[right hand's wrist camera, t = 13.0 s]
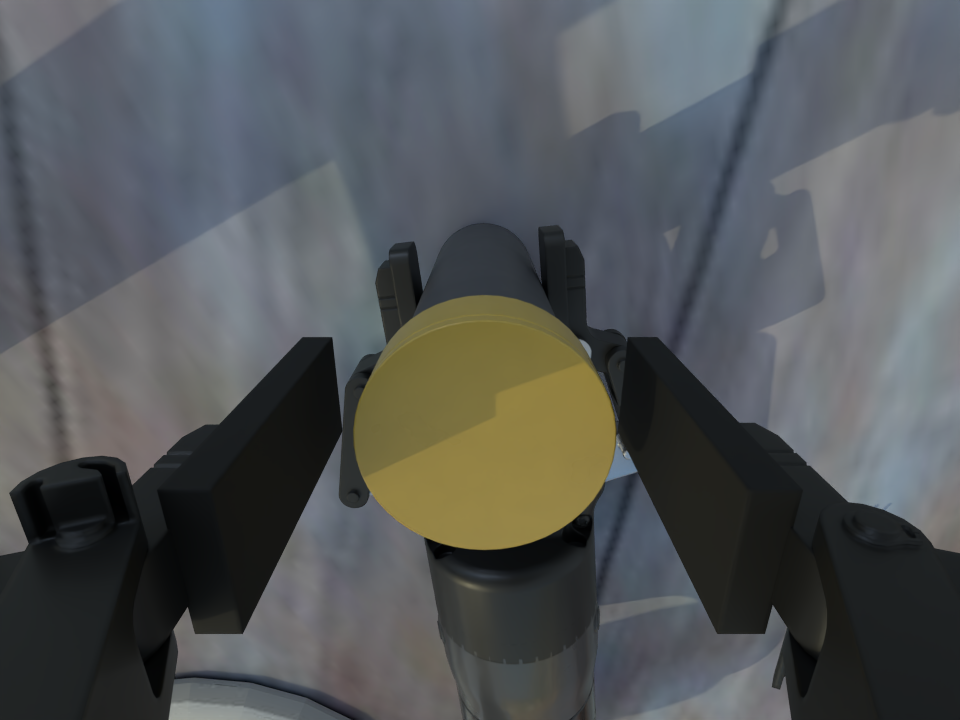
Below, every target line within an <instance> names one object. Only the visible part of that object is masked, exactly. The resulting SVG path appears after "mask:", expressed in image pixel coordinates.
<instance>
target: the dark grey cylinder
mask: <svg viewBox="0 0 960 720" xmlns="http://www.w3.org/2000/svg"><path fill="white" fill-rule="evenodd" d="M478 295H492V296H503V297H508V298H513V299H518V300H521V301H524V302H527V303H530V304H532V305H534V306H537V307H539V308H541V309H543V310H545V311H547V312H548V313H550V314H551V315H553V316H554V317H555V315H554V313H553V310H552V308H551V306H550V303H549V301H548V299H547V296H546V294H545V292H544V289H543V287H542V285H541V282H540V280H539V278H538V275H537V273H536V271H535V268H534V266H533V264H532V261H531V259H530V257H529V255H528V252H527V250H526V248H525V246H524V245H523V243H522V242H521V241H520V240H519V239H518V238H517V237H516V236H515V235H514V234H513V233H512V232H510V231H509V230H507V229H505V228H503V227H500V226H497V225H493V224H484V223H483V224H474V225H470V226H467V227H464V228H462V229H461V230H459V231H457V232H456V233H454V234H453V235H452V236H451V237H450V238H449V239H448V240H447V241H446V242H445V244H444V245H443V247H442V248H441V251H440V253H439V255H438V257H437V260H436V262H435V265H434V267H433V270H432V272H431V274H430V277H429V279H428V282H427V284H426V286H425V289H424V291H423V294H422V296H421V299H420V301H419V303H418V306H417V308H416V311H415V313H414V315H413V318H414V317H415V316H417V315H418V314H420V313H421V312H423V311H425V310H427V309H429V308H431V307H433V306H435V305H437V304H440V303H443V302H446V301H449V300H452V299H456V298H461V297H466V296H478Z"/></svg>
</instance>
